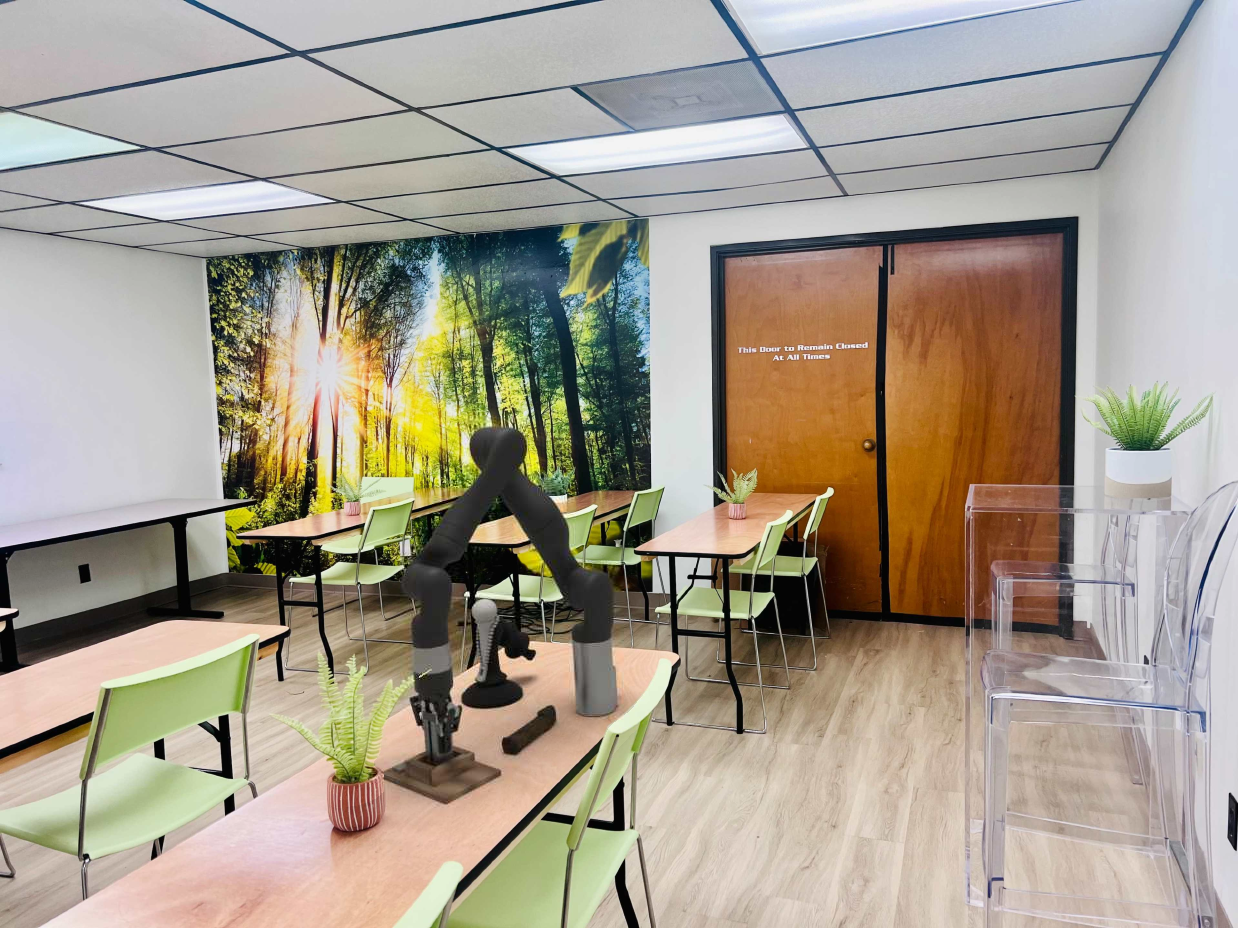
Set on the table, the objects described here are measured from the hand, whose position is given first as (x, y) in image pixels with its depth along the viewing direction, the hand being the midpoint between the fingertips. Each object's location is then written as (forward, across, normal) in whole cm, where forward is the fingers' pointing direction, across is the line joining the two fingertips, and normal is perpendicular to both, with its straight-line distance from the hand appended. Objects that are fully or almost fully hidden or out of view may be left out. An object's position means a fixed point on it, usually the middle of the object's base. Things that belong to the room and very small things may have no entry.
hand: (438, 749), depth 169 cm
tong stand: (+5, 0, 0) cm, 5 cm away
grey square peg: (+3, 0, 0) cm, 3 cm away
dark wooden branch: (+6, -2, -24) cm, 24 cm away
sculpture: (+6, +24, -40) cm, 47 cm away
